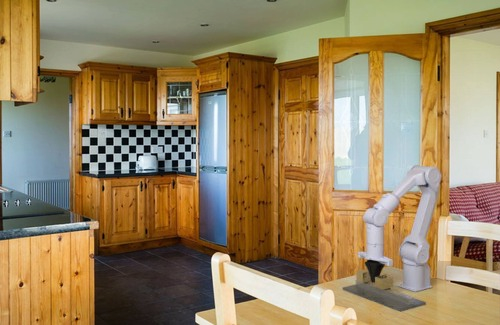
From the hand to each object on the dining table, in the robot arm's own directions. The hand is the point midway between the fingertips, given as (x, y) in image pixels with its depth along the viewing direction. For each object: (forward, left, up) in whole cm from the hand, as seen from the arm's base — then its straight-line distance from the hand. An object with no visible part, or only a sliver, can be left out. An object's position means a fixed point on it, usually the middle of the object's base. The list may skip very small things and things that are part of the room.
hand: (374, 282), depth 167 cm
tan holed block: (0, +4, -3) cm, 5 cm away
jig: (+1, +4, -4) cm, 6 cm away
